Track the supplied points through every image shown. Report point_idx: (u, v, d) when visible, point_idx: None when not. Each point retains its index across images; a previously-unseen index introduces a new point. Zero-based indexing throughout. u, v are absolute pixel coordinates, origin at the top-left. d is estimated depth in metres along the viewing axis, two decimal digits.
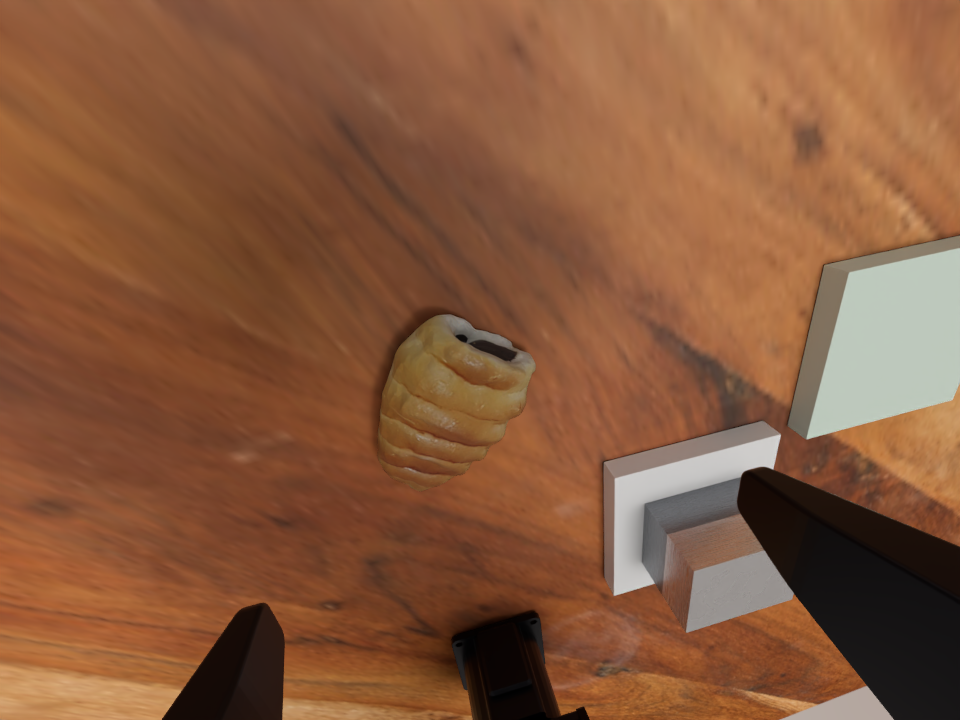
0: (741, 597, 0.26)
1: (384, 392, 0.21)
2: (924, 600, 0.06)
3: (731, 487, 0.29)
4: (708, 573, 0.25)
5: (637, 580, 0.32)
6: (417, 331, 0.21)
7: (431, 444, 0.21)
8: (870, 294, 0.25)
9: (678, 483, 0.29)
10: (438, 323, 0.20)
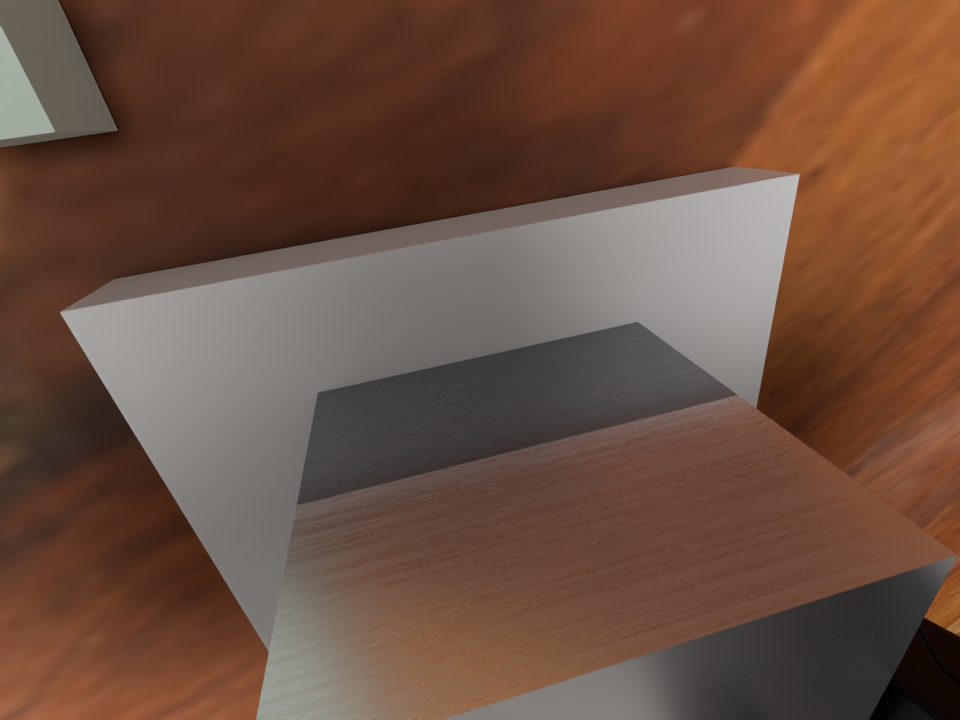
0: None
1: None
2: None
3: None
4: None
5: None
6: None
7: None
8: None
9: None
10: None
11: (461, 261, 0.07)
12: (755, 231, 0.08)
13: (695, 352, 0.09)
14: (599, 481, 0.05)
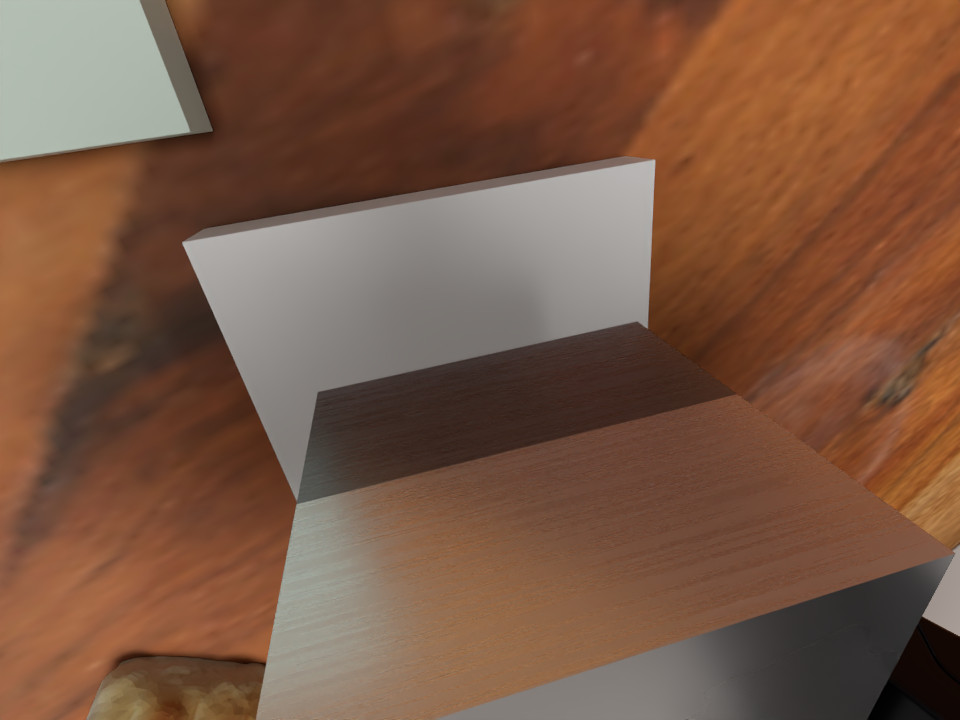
0: None
1: None
2: None
3: None
4: None
5: None
6: None
7: None
8: None
9: None
10: None
11: (430, 215, 0.11)
12: (629, 198, 0.12)
13: (596, 284, 0.12)
14: (598, 480, 0.05)
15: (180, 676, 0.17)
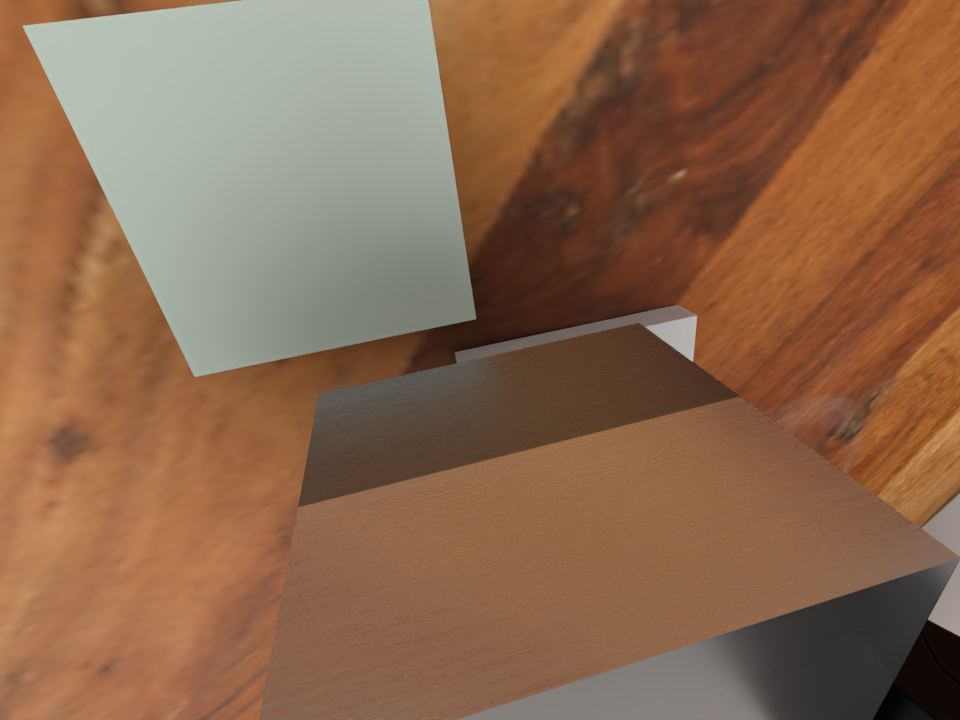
0: None
1: None
2: None
3: None
4: None
5: None
6: None
7: None
8: (219, 325, 0.17)
9: None
10: None
11: None
12: (682, 334, 0.21)
13: None
14: (601, 483, 0.05)
15: None
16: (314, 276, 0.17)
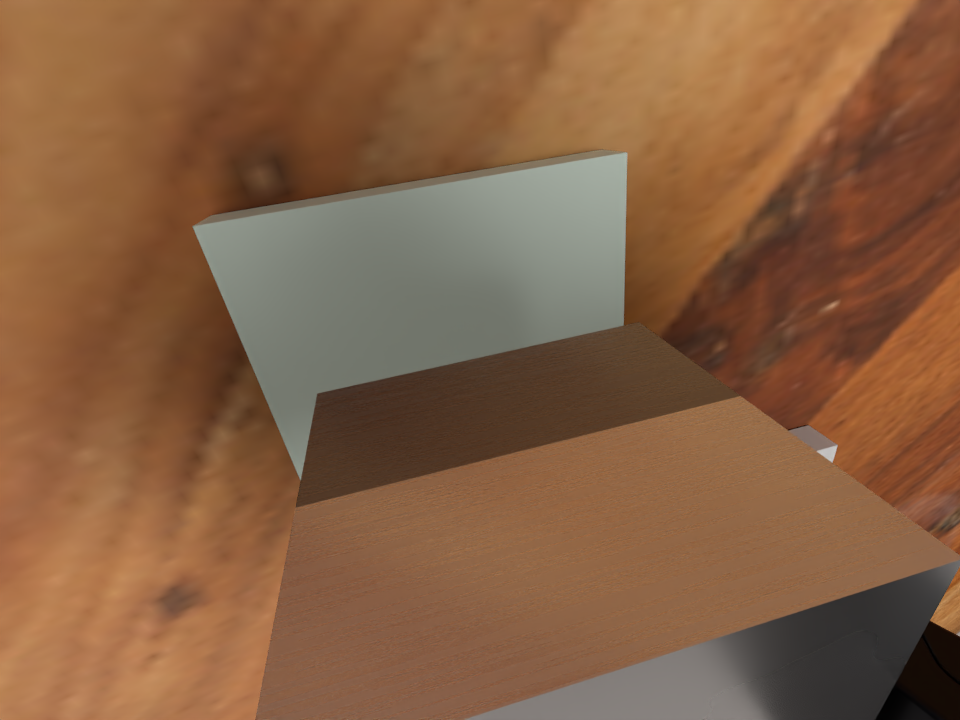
0: None
1: None
2: None
3: None
4: None
5: None
6: None
7: None
8: None
9: None
10: None
11: None
12: None
13: None
14: (601, 483, 0.05)
15: None
16: None
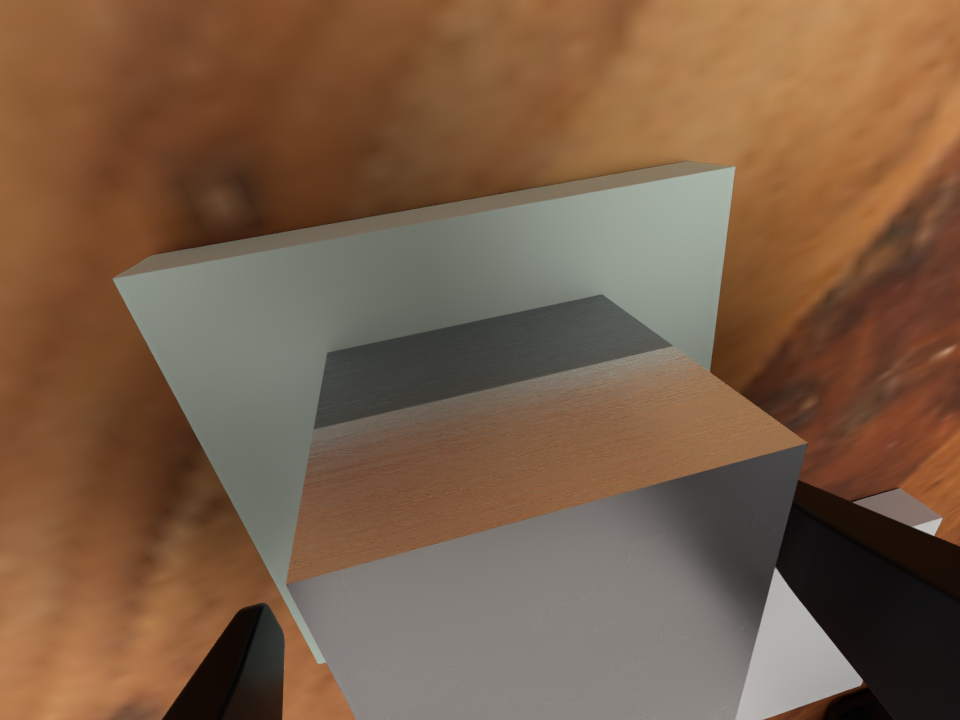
0: (642, 677, 0.06)
1: None
2: (924, 600, 0.06)
3: None
4: None
5: (852, 670, 0.20)
6: None
7: None
8: None
9: None
10: None
11: None
12: None
13: None
14: (553, 406, 0.06)
15: None
16: None
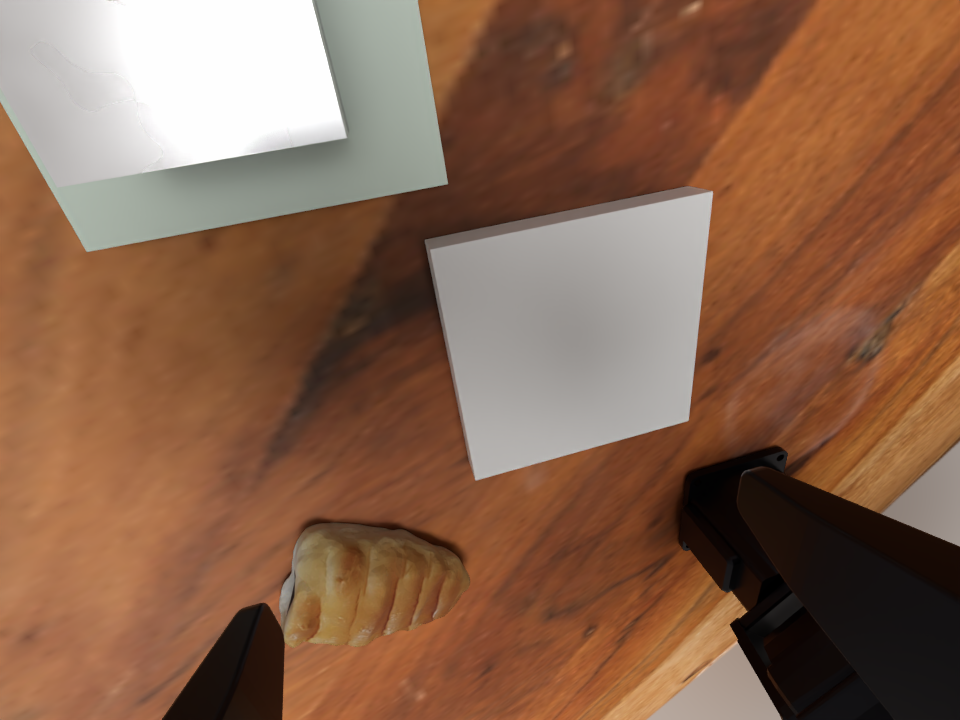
0: None
1: None
2: (924, 600, 0.06)
3: None
4: (60, 132, 0.08)
5: (674, 396, 0.22)
6: None
7: (394, 629, 0.23)
8: (112, 179, 0.13)
9: (503, 396, 0.20)
10: (282, 624, 0.23)
11: (574, 229, 0.17)
12: (695, 216, 0.18)
13: (671, 272, 0.19)
14: None
15: (352, 533, 0.22)
16: None
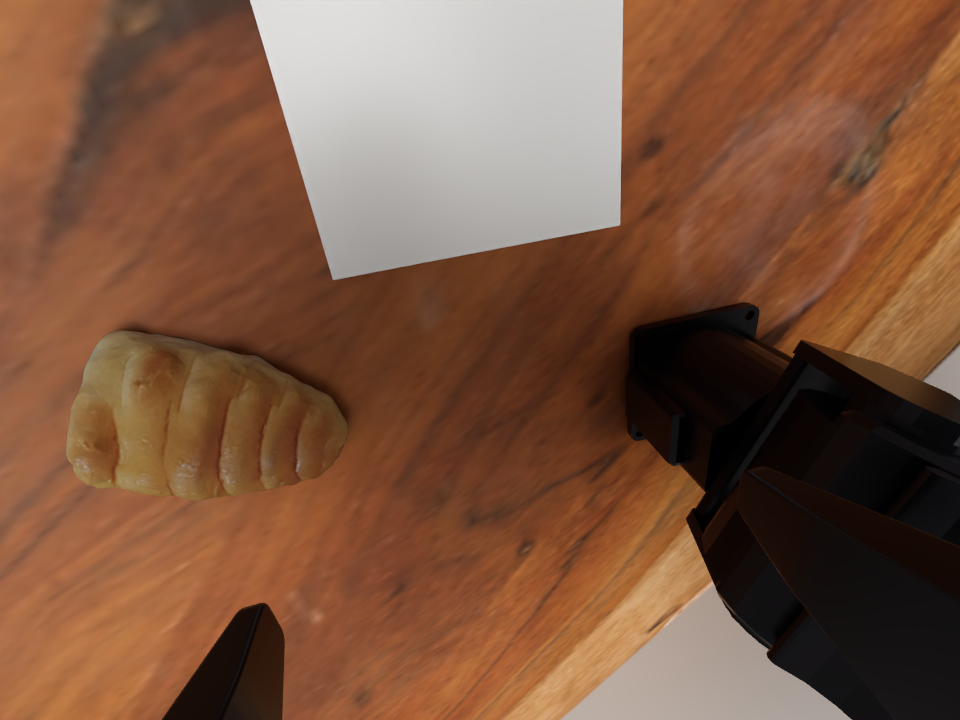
0: None
1: None
2: (924, 600, 0.06)
3: None
4: None
5: (597, 181, 0.17)
6: None
7: (233, 472, 0.17)
8: None
9: (354, 141, 0.15)
10: None
11: None
12: None
13: None
14: None
15: (176, 343, 0.17)
16: None
